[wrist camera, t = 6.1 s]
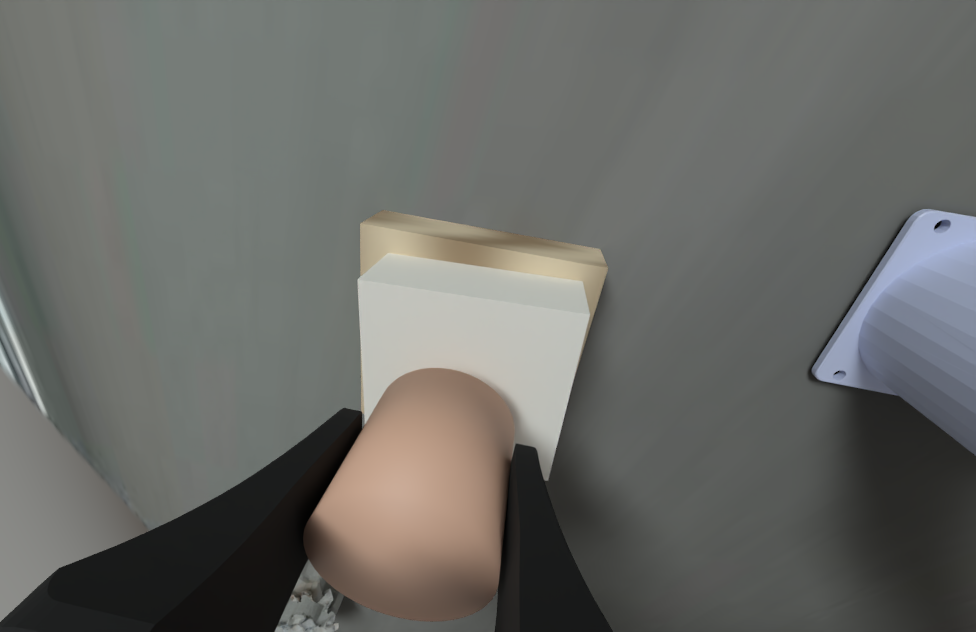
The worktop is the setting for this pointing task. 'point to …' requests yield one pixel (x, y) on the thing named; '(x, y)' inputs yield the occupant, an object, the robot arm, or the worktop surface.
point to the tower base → (480, 252)
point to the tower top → (476, 336)
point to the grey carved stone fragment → (311, 605)
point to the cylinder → (420, 501)
